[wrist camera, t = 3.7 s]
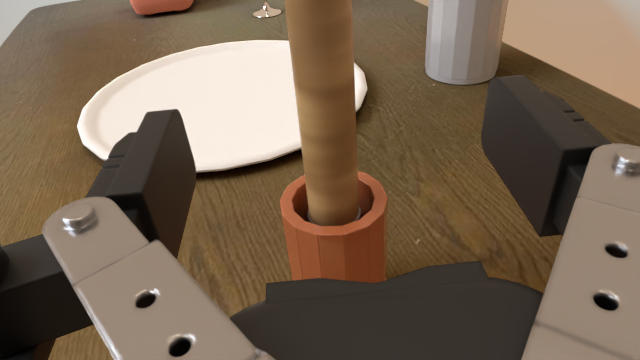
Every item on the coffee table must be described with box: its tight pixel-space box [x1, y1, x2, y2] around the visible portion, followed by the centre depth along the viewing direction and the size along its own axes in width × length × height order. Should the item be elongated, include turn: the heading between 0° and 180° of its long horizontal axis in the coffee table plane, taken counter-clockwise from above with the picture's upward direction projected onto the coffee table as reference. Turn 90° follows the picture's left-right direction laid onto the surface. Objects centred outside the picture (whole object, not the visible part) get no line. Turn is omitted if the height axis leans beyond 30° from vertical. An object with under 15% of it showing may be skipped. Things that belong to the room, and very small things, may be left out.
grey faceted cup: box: [425, 0, 508, 85], centre depth 47 cm, size 7×7×11 cm
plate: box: [77, 40, 367, 172], centre depth 48 cm, size 29×29×1 cm
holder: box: [280, 171, 388, 283], centre depth 24 cm, size 5×5×8 cm
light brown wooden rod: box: [284, 0, 361, 226], centre depth 20 cm, size 3×3×20 cm
